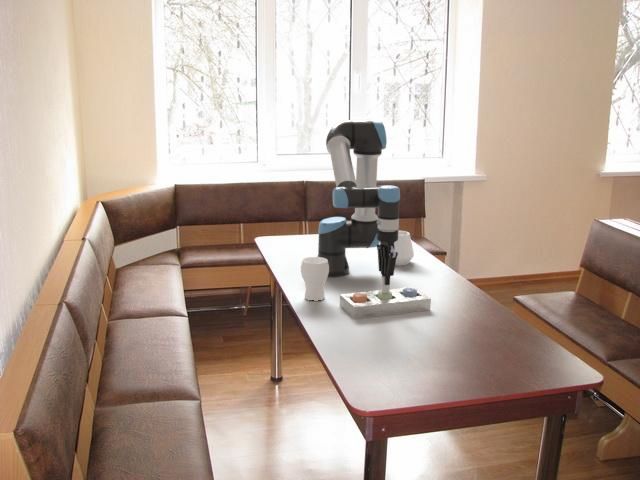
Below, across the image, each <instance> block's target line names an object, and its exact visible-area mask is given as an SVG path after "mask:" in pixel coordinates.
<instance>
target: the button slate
mask: <svg viewBox="0 0 640 480" xmlns="http://www.w3.org/2000/svg"><path fill="white" fill-rule="evenodd" d="M404 288H405V289H403V296H405V297H414V296H417V290H418V289H417V288H416V289H417V290H416V289H413V288H406V287H404Z"/></svg>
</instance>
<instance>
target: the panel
mask: <svg viewBox="0 0 640 480" xmlns="http://www.w3.org/2000/svg"><path fill="white" fill-rule="evenodd" d="M405 288H413V289H416V290H417V296H414V297H405V296H403V289H405ZM379 291H381V289H380V290H379V289H377V290H370V291H369V290H368V291H360V292H352V293H351V292H350V293H340V294H339V307H340V308H341V309H342V310H344V311H345V313H346V314H348V315H349V316H350V317H351V318H352V319H353V320H357V319H358V320H359V319H365V318H366V319H367V318H368V319H369V318H375V317H382V316H392V315H393V316H394V315H400V314H409V313H417V312H419V313H420V312H425V311H431V305H432V304H431V303H432V298H431V297H429V295H427V294H425V293H423V292H422V291H420V290H419V289H418V288H416V287H415V286H407V287H399V288H390V292H392V299H387V300H380V299H379V298H378V292H379ZM357 293H362V294H366V295H367V302H359V303H354V302H353V294H357Z"/></svg>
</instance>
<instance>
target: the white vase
mask: <svg viewBox="0 0 640 480" xmlns="http://www.w3.org/2000/svg"><path fill="white" fill-rule="evenodd" d="M411 238H412V237H411V234H410V232H408V231H405V230H398V240H397V241H395V242H394V247H395V248H394V251H395V252H397V253H398V255H397V258H396V263H395V266H406V265H409V264H410V262H411V260H413V258H414V255H415V254H414V252H415V251H414V248H413V242H412V239H411Z"/></svg>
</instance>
